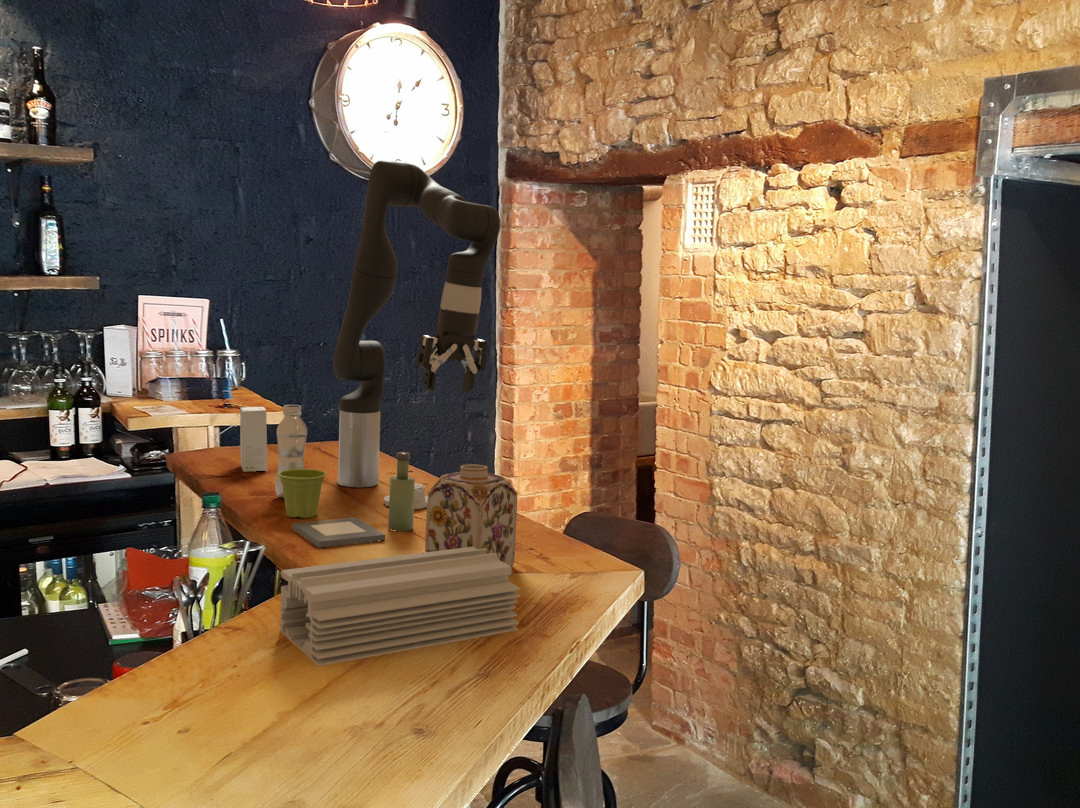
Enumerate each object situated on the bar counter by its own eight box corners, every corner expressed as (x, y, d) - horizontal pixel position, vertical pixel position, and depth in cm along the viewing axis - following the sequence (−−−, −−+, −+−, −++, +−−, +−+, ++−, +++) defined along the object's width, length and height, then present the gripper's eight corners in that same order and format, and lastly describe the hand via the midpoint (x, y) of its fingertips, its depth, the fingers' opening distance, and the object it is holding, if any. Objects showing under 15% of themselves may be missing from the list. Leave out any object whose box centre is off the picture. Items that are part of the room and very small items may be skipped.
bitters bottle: (384, 526, 206) (386, 451, 204) (406, 524, 208) (409, 450, 206) (394, 532, 202) (397, 456, 200) (417, 530, 204) (419, 454, 202)
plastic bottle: (268, 498, 224) (269, 406, 221) (287, 493, 230) (289, 402, 227) (293, 502, 221) (295, 409, 218) (312, 496, 227) (314, 405, 225)
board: (292, 529, 200) (292, 522, 200) (355, 523, 207) (355, 516, 207) (318, 548, 188) (318, 541, 188) (385, 540, 196) (385, 534, 195)
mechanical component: (425, 512, 220) (434, 501, 230) (425, 491, 219) (435, 482, 229) (378, 508, 221) (390, 498, 231) (379, 488, 220) (390, 478, 230)
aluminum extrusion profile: (518, 632, 152) (521, 565, 151) (318, 668, 135) (320, 594, 134) (469, 603, 164) (472, 541, 163) (280, 633, 147) (281, 564, 146)
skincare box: (267, 472, 250) (268, 410, 248) (241, 472, 248) (242, 410, 246) (264, 465, 258) (265, 405, 256) (239, 465, 256) (239, 405, 254)
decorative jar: (477, 582, 174) (482, 476, 171) (422, 568, 180) (425, 465, 177) (516, 566, 184) (521, 465, 181) (463, 553, 190) (467, 456, 187)
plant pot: (268, 513, 211) (268, 471, 210) (307, 507, 218) (308, 466, 217) (294, 523, 205) (295, 480, 204) (334, 516, 212) (335, 474, 211)
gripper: (479, 307, 207) (467, 387, 210) (418, 302, 198) (406, 385, 201) (501, 314, 202) (488, 396, 204) (439, 308, 193) (426, 394, 195)
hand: (447, 390), depth 203 cm, fingers open, 8 cm apart
